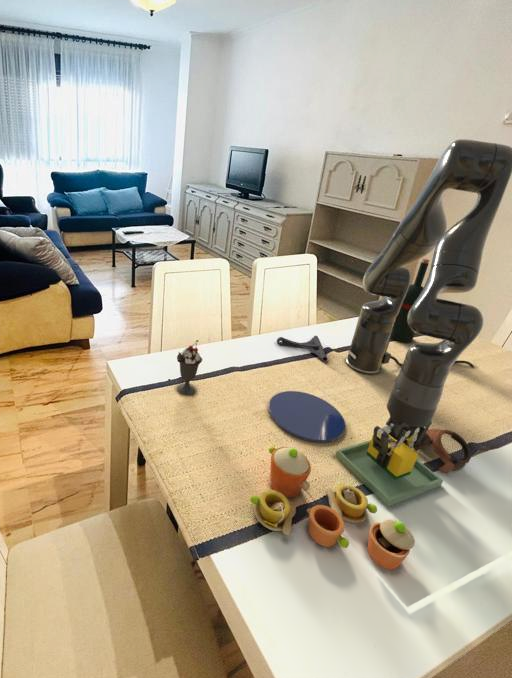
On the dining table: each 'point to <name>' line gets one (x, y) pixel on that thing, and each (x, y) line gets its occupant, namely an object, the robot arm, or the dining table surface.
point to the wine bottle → (408, 307)
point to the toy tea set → (327, 511)
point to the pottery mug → (435, 438)
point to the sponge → (396, 460)
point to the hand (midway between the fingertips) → (389, 461)
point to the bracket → (306, 346)
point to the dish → (387, 476)
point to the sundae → (188, 368)
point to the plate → (306, 416)
